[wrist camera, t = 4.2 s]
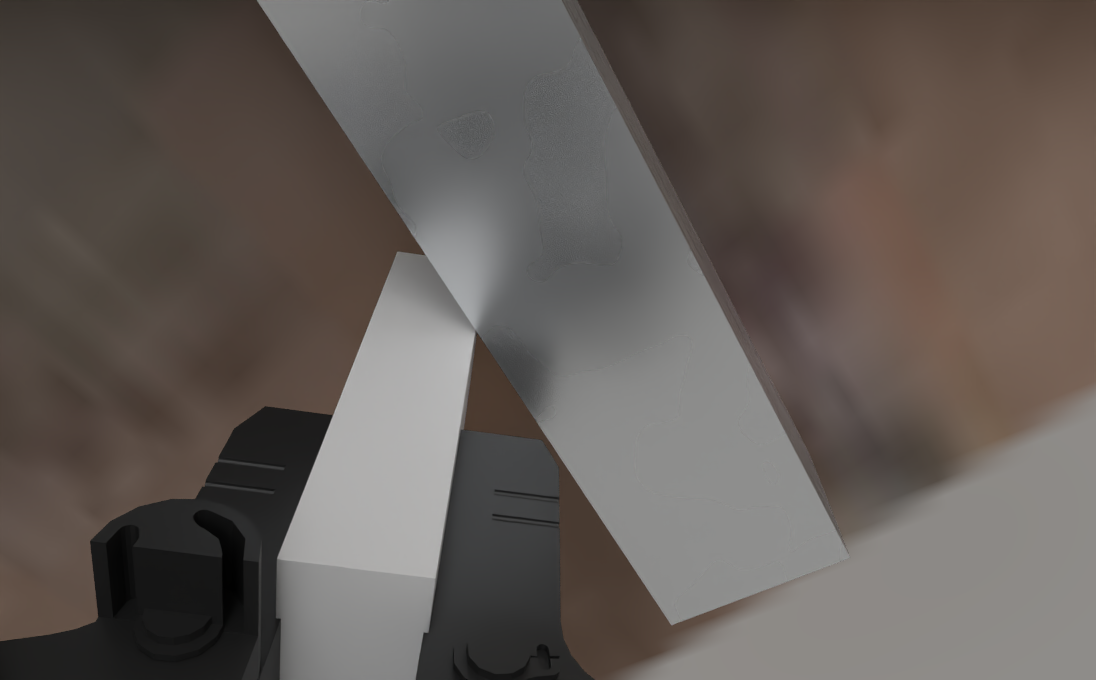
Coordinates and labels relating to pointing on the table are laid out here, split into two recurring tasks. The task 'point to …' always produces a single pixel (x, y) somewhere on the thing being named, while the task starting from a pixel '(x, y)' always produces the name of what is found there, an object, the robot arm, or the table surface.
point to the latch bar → (578, 278)
